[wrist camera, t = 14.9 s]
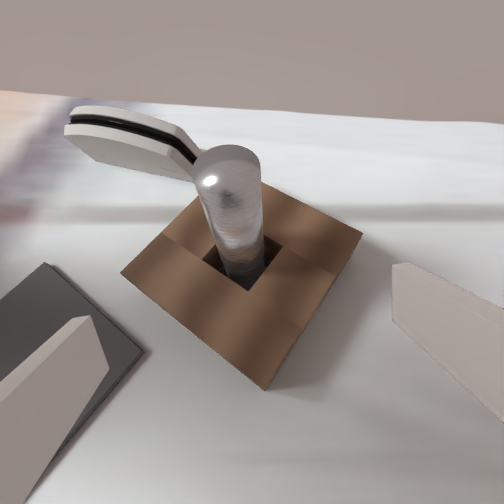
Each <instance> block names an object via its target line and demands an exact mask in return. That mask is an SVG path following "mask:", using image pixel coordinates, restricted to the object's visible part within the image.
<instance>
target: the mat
mask: <svg viewBox="0 0 504 504" xmlns="http://www.w3.org/2000/svg"><path fill="white" fill-rule="evenodd" d="M88 315H91V318H92V321H93V324H94V327H95V329H96V332H97V335H98V338H99V341H100V343H101V346H102V349H103V352H104V355H105V358H106V360H107V363H108V366H109V370H108V372H107V374H106V375H105V377H104V378H103V380H102V381H101V383H100V384H99V386H98V388H97V389H96V391H95V392H94V394H93V395H92V397H91V398H90V400H89V402H88V403H87V405H86V406H85V408H84V409H83V411H82V412H81V414H80V416H79V417H78V419H77V420H76V422H75V423H74V425H73V427H72V428H71V430H70V431H69V433H68V434H67V436H66V437H65V439H64V441H63V442H62V444H61V445H60V447H59V448H58V450H57V451H56V453H55V455H54V456H53V458H52V459H51V461H52V460H53V459H54V458H55V456H56V455H57V454H58V453H59V452H60V451H61V449H62V448H63V447H64V446H65V445H66V444H67V442H68V441H69V440H70V439H71V438H72V437H73V435H74V434H75V433H76V432H77V431H78V430H79V428H80V427H81V426H82V425H83V424H84V423H85V421H86V420H87V419H88V418H89V417H90V416H91V414H92V413H93V412H94V411H95V410H96V409H97V407H98V406H99V405H100V404H101V403H102V402H103V400H104V399H105V398H106V397H107V396H108V395H109V393H110V392H111V391H112V390H113V389H114V388H115V386H116V385H117V384H118V383H119V382H120V381H121V379H122V378H123V377H124V376H125V375H126V374H127V372H128V371H129V370H130V369H131V368H132V367H133V365H134V364H135V363H136V362H137V361H138V359H139V358H140V357H141V356H142V355H143V354H144V351H143V350H142V349H141V348H140V347H139V346H138V345H137V344H135V343H134V342H133V341H132V340H131V339H130V338H129V337H128V336H127V335H126V334H124V333H123V332H122V331H121V330H120V329H119V328H118V327H117V326H116V325H115V324H114V323H112V322H111V321H110V320H109V319H108V318H107V317H106V316H105V315H104V314H103V313H102V312H100V311H99V310H98V309H97V308H96V307H95V306H94V305H93V304H92V303H91V302H89V301H88V300H87V299H86V298H85V297H84V296H83V295H82V294H81V293H80V292H79V291H77V290H76V289H75V288H74V287H73V286H72V285H71V284H70V283H69V282H68V281H67V280H65V279H64V278H63V277H62V276H61V275H60V274H59V273H58V272H57V271H56V270H54V269H53V268H52V267H51V266H50V265H49V264H47V263H45V262H44V263H43V264H42V265H41V266H39V267H38V268H37V269H36V270H35V271H34V272H32V273H31V274H30V275H29V276H28V277H27V278H25V279H24V280H23V281H22V282H21V283H20V284H18V285H17V286H16V287H15V288H14V289H13V290H11V291H10V292H9V293H8V294H7V295H6V296H4V297H3V298H2V299H1V300H0V382H1V381H2V380H3V379H4V378H5V377H6V376H8V375H9V374H10V373H11V372H12V371H13V370H14V369H15V368H17V367H18V366H19V365H20V364H21V363H22V362H23V361H25V360H26V359H27V358H28V357H29V356H30V355H31V354H32V353H34V352H35V351H36V350H37V349H38V348H39V347H40V346H41V345H43V344H44V343H45V342H46V341H47V340H48V339H49V338H50V337H52V336H53V335H54V334H55V333H56V332H57V331H58V330H60V329H61V328H62V327H63V326H64V325H65V324H66V323H67V322H69V321H70V320H71V319H72V318H76V317H82V316H88ZM51 461H50V462H51ZM50 462H49V463H50ZM48 465H49V464H48ZM48 465H47V466H48Z"/></svg>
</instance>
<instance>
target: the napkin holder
mask: <svg viewBox="0 0 504 504" xmlns="http://www.w3.org/2000/svg"><path fill="white" fill-rule="evenodd" d="M69 117H70V119H71V120H70V121H71V123H69V125H65V131H64V137H65V138H66V139H67V140H69V141H70V142H71V143H73V144H74V145H75V146H77V147H78V148H79V149H81V150H82V151H83V152H85V153H86V154H87V155H88V156H90V157H91V158H92V159H94V160H95V161H97V162H102V163H106V164H111V165H115V166H120V167H124V168H129V169H134V170H138V171H143V172H147V173H152V174H156V175H161V176H165V177H170V178H175V179H179V180H184V181H188V182H193V183H194V181H193V178H192V167H193V165H194V163H195V161H196V160H197V158H198V157H199V156H200V155H201V154H203V153H204V152H205V151H207V150H203V149H199V148H198V147H197V146H196V144H195V143H194V142H193V141H192V140H191V139H190V137H189V136H188V135H187V134H186V133H185V131H184V130H183V129H181V128H180V127H178V126H176V125H174V124H171V123H168V122H166V121H163V120H160V119H157V118H154V117H151V116H147V115H144V114H140V113H136V112H132V111H129V110H124V109H119V108H113V107H105V106H80V107H75V108H74V110H73V111H72V112H71V114H70V115H69Z"/></svg>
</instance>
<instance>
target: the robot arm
mask: <svg viewBox="0 0 504 504" xmlns="http://www.w3.org/2000/svg"><path fill="white" fill-rule="evenodd" d="M392 321H393V322H394V323H395V324H396V325H398V326H399V327H400V328H401V329H402V330H403V331H404V332H405V333H406V334H407V335H408V336H409V337H411V338H412V339H413V340H414V341H415V342H416V343H417V344H418V345H419V346H420V347H421V348H423V349H424V350H425V351H426V352H427V353H428V354H429V355H430V356H431V357H432V358H433V359H434V360H436V361H437V362H438V363H439V364H440V365H441V366H442V367H443V368H444V369H445V370H446V371H448V372H449V373H450V374H451V375H452V376H453V377H454V378H455V379H456V380H457V381H458V382H459V383H461V384H462V385H463V386H464V387H465V388H466V389H467V390H468V391H469V392H470V393H471V394H472V395H474V396H475V397H476V398H477V399H478V400H479V401H480V402H481V403H482V404H483V405H484V406H486V407H487V408H488V409H489V410H490V411H491V412H492V413H493V414H494V415H495V416H496V417H497V418H499V419H500V420H501V421H502V422H503V423H504V309H502V308H500V307H498V306H496V305H494V304H492V303H490V302H488V301H486V300H484V299H482V298H480V297H478V296H476V295H474V294H472V293H470V292H468V291H466V290H464V289H462V288H460V287H458V286H456V285H454V284H452V283H450V282H448V281H446V280H444V279H442V278H440V277H438V276H436V275H434V274H432V273H430V272H428V271H426V270H424V269H422V268H420V267H418V266H416V265H414V264H412V263H410V262H405V263H399V264H393V265H392ZM108 370H109V366H108V363H107V360H106V358H105V355H104V352H103V349H102V346H101V343H100V341H99V338H98V335H97V332H96V329H95V327H94V324H93V321H92V318H91V315H88V316H82V317H76V318H72V319H71V320H70V321H69V322H67V323H66V324H65V325H64V326H63V327H62V328H61V329H60V330H58V331H57V332H56V333H55V334H54V335H53V336H52V337H50V338H49V339H48V340H47V341H46V342H45V343H44V344H43V345H41V346H40V347H39V348H38V349H37V350H36V351H35V352H34V353H32V354H31V355H30V356H29V357H28V358H27V359H26V360H25V361H23V362H22V363H21V364H20V365H19V366H18V367H17V368H15V369H14V370H13V371H12V372H11V373H10V374H9V375H8V376H6V377H5V378H4V379H3V380H2V381H1V382H0V504H23V503H24V501H25V500H26V498H27V497H28V495H29V493H30V492H31V490H32V489H33V487H34V486H35V484H36V483H37V481H38V479H39V478H40V476H41V475H42V473H43V472H44V470H45V469H46V467H47V465H48V464H49V462H50V461H51V459H52V458H53V456H54V455H55V453H56V451H57V450H58V448H59V447H60V445H61V444H62V442H63V441H64V439H65V437H66V436H67V434H68V433H69V431H70V430H71V428H72V427H73V425H74V423H75V422H76V420H77V419H78V417H79V416H80V414H81V412H82V411H83V409H84V408H85V406H86V405H87V403H88V402H89V400H90V398H91V397H92V395H93V394H94V392H95V391H96V389H97V388H98V386H99V384H100V383H101V381H102V380H103V378H104V377H105V375H106V374H107V372H108Z"/></svg>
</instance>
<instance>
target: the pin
mask: <svg viewBox="0 0 504 504" xmlns="http://www.w3.org/2000/svg"><path fill="white" fill-rule="evenodd" d="M192 178H193V181H194V184H195V186H196V189H197V192H198V195H199V198H200V201H201V204H202V206H203V209H204V212H205V215H206V218H207V221H208V223H209V226H210V229H211V232H212V235H213V238H214V241H215V243H216V246H217V249H218V252H219V255H220V258H221V260H222V263H223V266H224V269H225V272H226V275H227V277H228V278H229V279H230V280H232V281H233V282H235V283H236V284H238V285H239V286H241V287H242V288H244V289H245V290H247V291H248V292H249V290H250V289H251V288H252V286H253V285H254V284H255V283H256V281H257V280H258V279H259V277H260V276H261V275H262V273H263V272H264V271H265V258H264V237H263V215H262V193H261V171H260V162H259V159H258V158H257V156H256V155H255V154H254V153H253V152H252V151H251V150H249V149H247V148H245V147H242V146H238V145H221V146H217V147H214V148H211V149H209V150H207V151H205V152H204V153H203V154H201V155H200V156H199V157H198V158H197V160H196V161H195V163H194V165H193V167H192Z"/></svg>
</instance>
